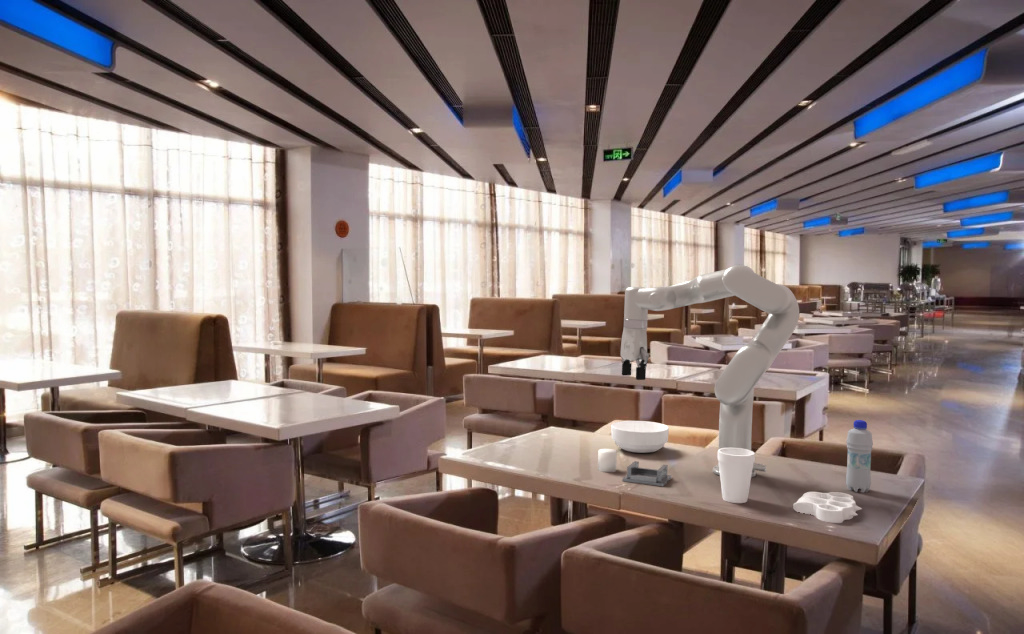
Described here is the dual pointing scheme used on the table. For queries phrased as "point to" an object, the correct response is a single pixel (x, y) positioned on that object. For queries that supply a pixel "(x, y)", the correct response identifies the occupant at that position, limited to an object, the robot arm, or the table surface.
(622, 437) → the bowl
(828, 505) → the white compartment tray
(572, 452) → the table surface
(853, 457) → the bottle
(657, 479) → the roll cradle
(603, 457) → the paper roll
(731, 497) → the foam cup
